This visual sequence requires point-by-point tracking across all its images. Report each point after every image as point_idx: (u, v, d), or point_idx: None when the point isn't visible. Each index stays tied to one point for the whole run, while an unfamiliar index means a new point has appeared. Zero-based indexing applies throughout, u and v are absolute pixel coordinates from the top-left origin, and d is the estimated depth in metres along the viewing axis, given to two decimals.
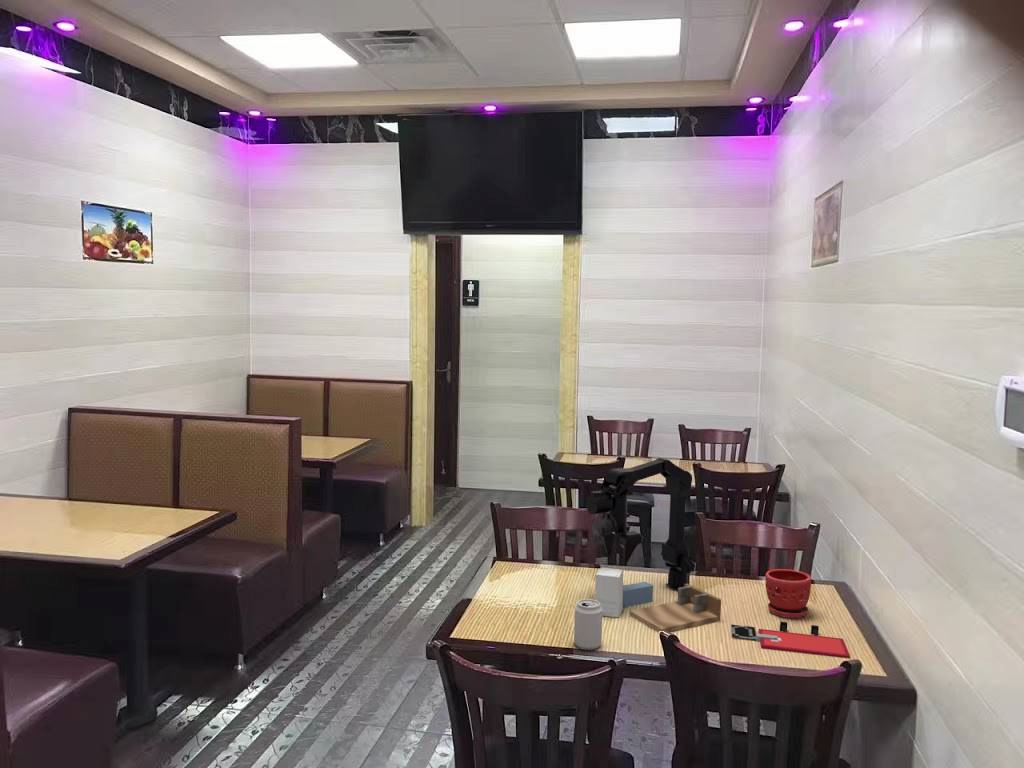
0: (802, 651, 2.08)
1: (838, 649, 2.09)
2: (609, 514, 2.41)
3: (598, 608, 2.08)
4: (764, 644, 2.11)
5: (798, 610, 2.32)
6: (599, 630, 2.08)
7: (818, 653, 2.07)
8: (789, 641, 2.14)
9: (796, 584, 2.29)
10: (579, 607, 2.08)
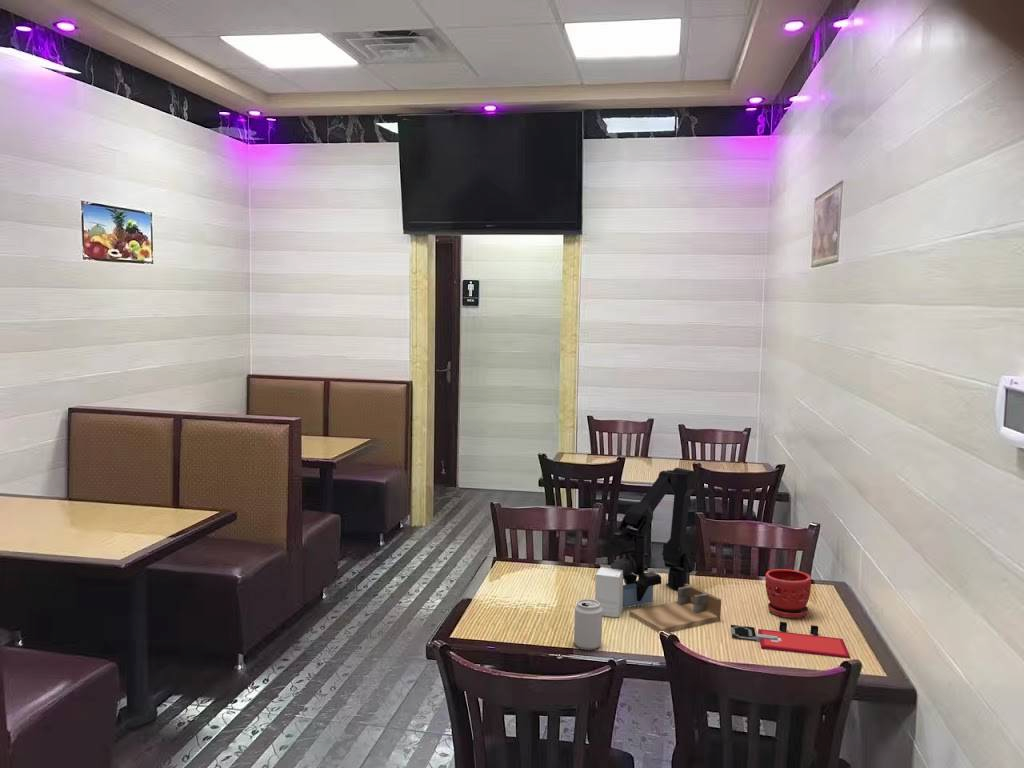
0: (802, 651, 2.08)
1: (838, 649, 2.09)
2: (628, 554, 2.41)
3: (598, 608, 2.08)
4: (764, 644, 2.11)
5: (798, 610, 2.32)
6: (599, 630, 2.08)
7: (818, 654, 2.07)
8: (788, 641, 2.13)
9: (796, 584, 2.29)
10: (579, 607, 2.08)
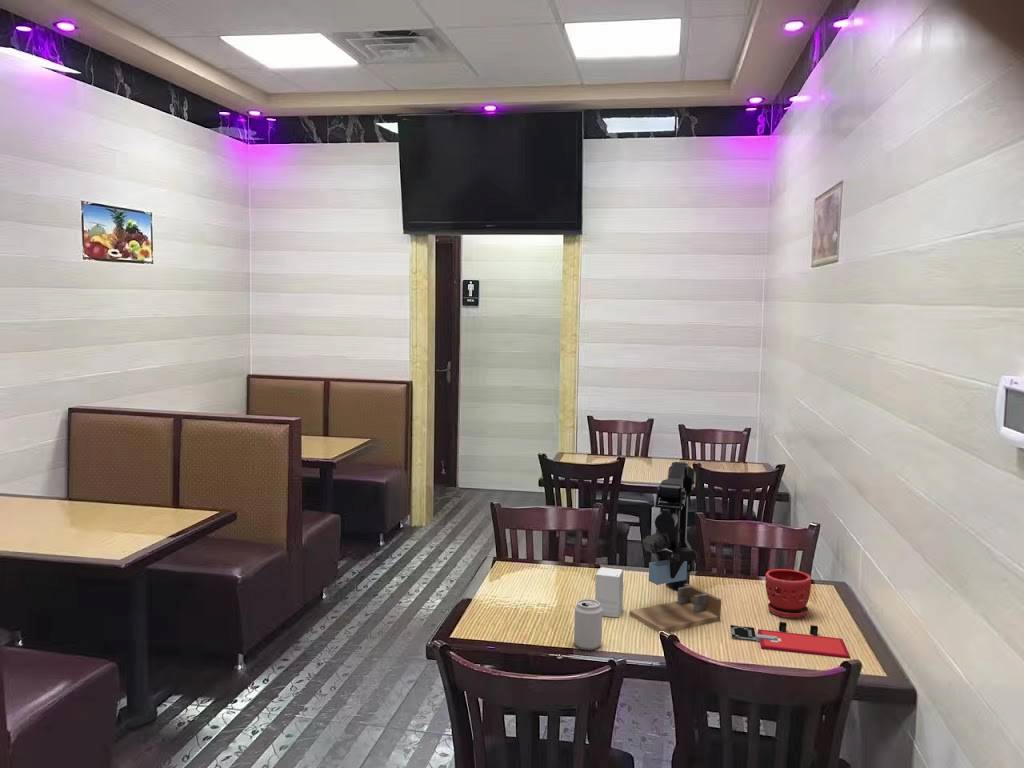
0: (802, 651, 2.08)
1: (838, 649, 2.09)
2: None
3: (598, 608, 2.08)
4: (764, 645, 2.11)
5: (798, 610, 2.32)
6: (599, 630, 2.08)
7: (819, 654, 2.07)
8: (788, 641, 2.13)
9: (796, 584, 2.29)
10: (579, 607, 2.08)
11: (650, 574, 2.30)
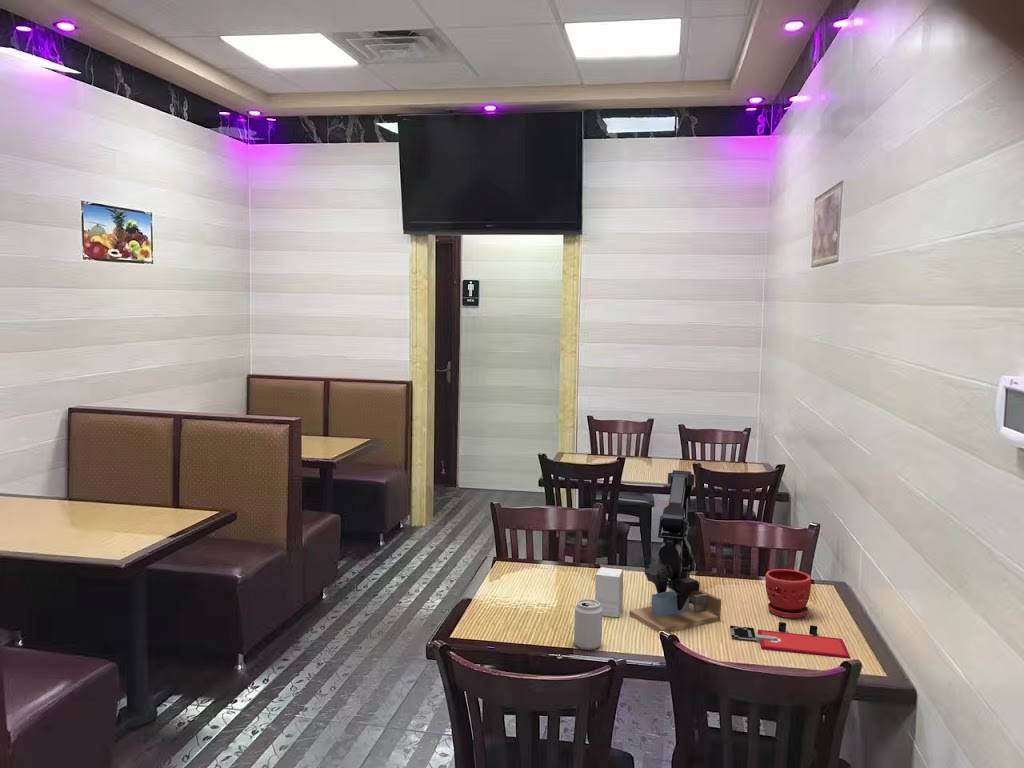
0: (802, 652, 2.08)
1: (838, 649, 2.09)
2: None
3: (598, 608, 2.08)
4: (764, 645, 2.10)
5: (798, 610, 2.32)
6: (599, 630, 2.08)
7: (819, 654, 2.07)
8: (788, 641, 2.13)
9: (796, 584, 2.29)
10: (579, 607, 2.08)
11: (653, 606, 2.30)
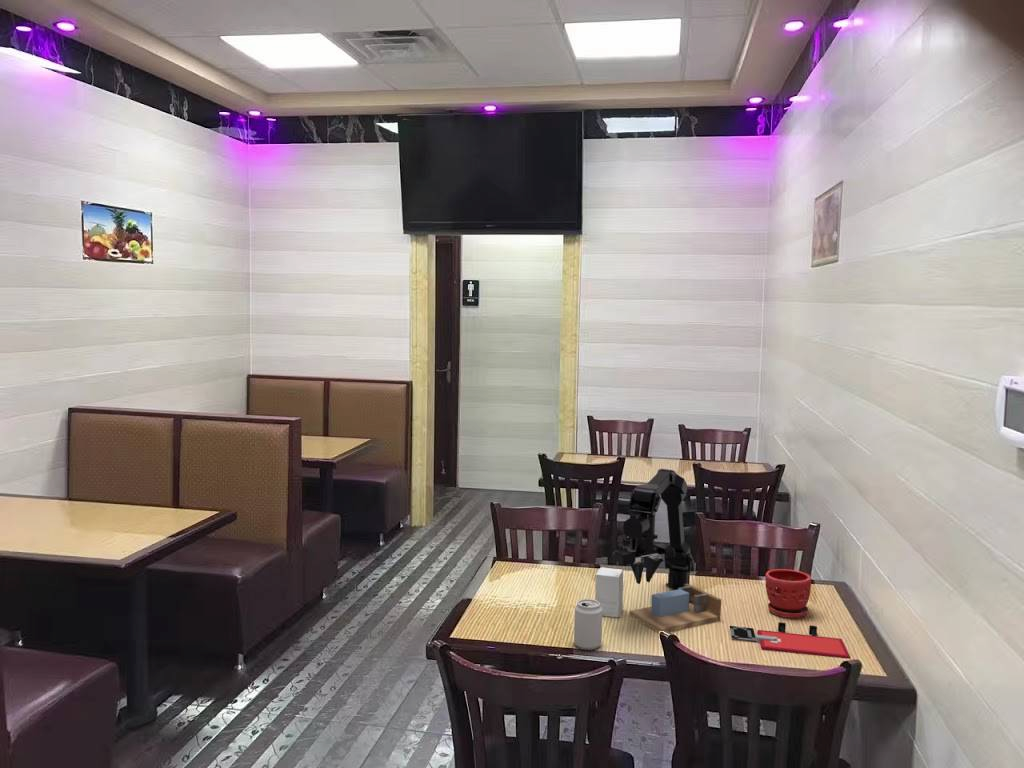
0: (802, 652, 2.08)
1: (838, 649, 2.09)
2: None
3: (598, 608, 2.08)
4: (764, 645, 2.10)
5: (798, 610, 2.32)
6: (599, 630, 2.08)
7: (819, 654, 2.07)
8: (788, 642, 2.13)
9: (796, 584, 2.29)
10: (579, 607, 2.08)
11: (653, 606, 2.30)
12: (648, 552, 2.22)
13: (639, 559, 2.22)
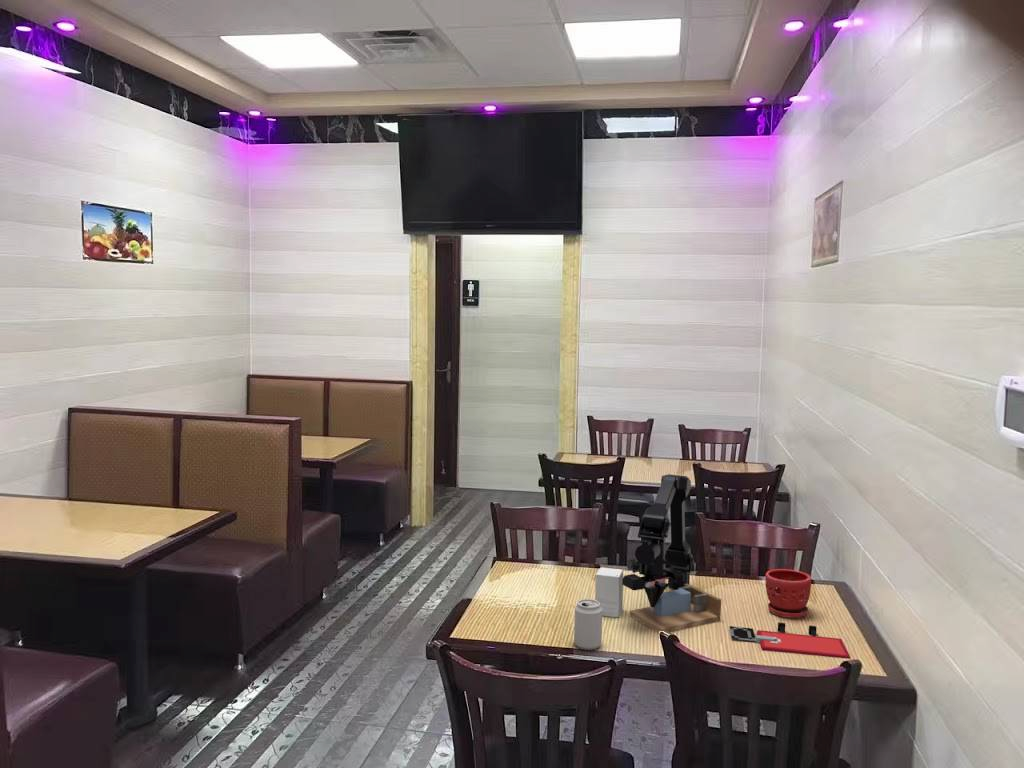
0: (802, 652, 2.07)
1: (838, 649, 2.09)
2: None
3: (598, 608, 2.08)
4: (764, 646, 2.10)
5: (798, 610, 2.32)
6: (599, 630, 2.08)
7: (819, 654, 2.07)
8: (788, 642, 2.13)
9: (796, 584, 2.29)
10: (579, 607, 2.08)
11: None
12: (657, 577, 2.25)
13: (653, 583, 2.25)
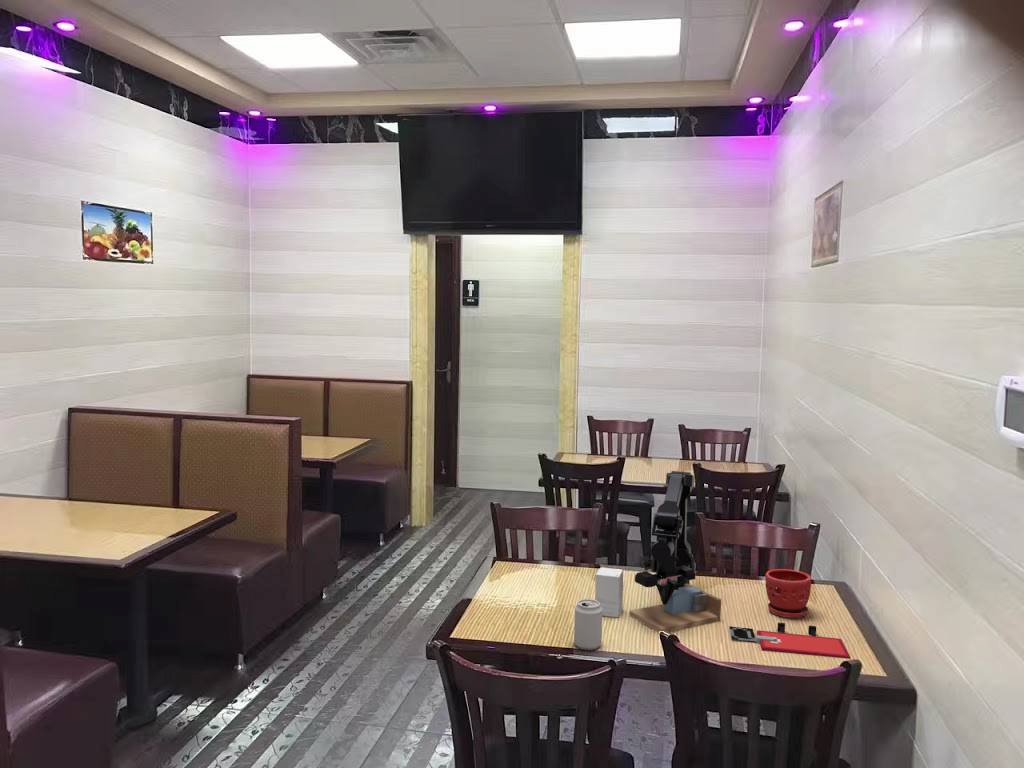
0: (802, 652, 2.07)
1: (838, 650, 2.09)
2: None
3: (598, 608, 2.08)
4: (764, 646, 2.10)
5: (798, 610, 2.32)
6: (599, 630, 2.08)
7: (819, 654, 2.07)
8: (788, 642, 2.13)
9: (796, 584, 2.29)
10: (579, 607, 2.08)
11: None
12: (670, 574, 2.27)
13: (665, 580, 2.27)
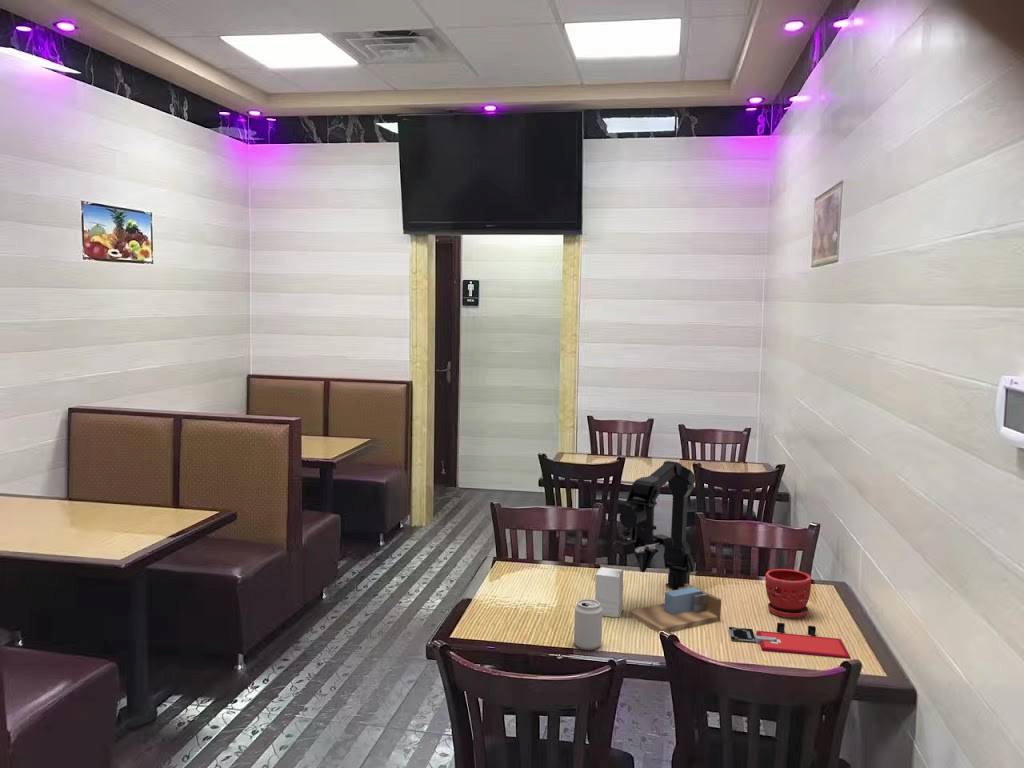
0: (803, 653, 2.07)
1: (837, 650, 2.09)
2: None
3: (598, 608, 2.08)
4: (764, 646, 2.10)
5: (798, 610, 2.32)
6: (599, 630, 2.08)
7: (819, 655, 2.06)
8: (788, 642, 2.13)
9: (796, 584, 2.29)
10: (579, 607, 2.08)
11: (666, 603, 2.32)
12: (647, 542, 2.32)
13: (643, 548, 2.32)
